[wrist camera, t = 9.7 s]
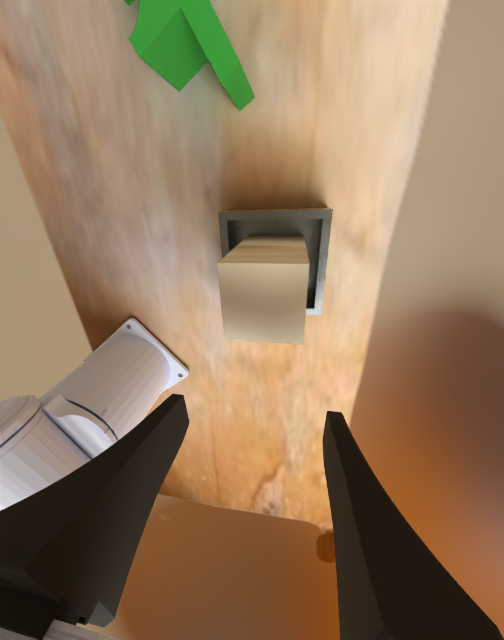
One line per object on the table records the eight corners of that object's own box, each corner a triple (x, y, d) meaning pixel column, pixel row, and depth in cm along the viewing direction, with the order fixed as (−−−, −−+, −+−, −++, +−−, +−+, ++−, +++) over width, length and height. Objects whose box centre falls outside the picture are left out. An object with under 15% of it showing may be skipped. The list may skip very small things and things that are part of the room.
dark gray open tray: (318, 301, 20) (320, 315, 18) (234, 299, 21) (227, 311, 19) (327, 207, 17) (332, 209, 14) (228, 209, 18) (218, 212, 15)
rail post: (300, 288, 19) (303, 344, 12) (249, 287, 20) (224, 340, 13) (303, 235, 17) (309, 263, 10) (248, 235, 18) (217, 263, 11)
